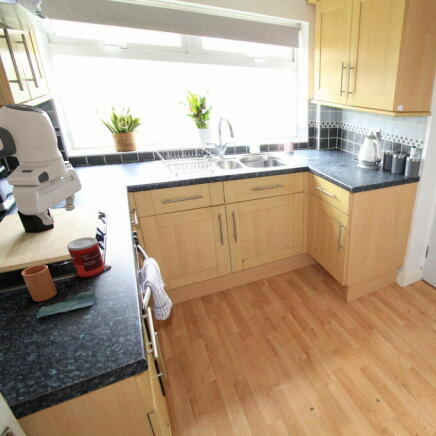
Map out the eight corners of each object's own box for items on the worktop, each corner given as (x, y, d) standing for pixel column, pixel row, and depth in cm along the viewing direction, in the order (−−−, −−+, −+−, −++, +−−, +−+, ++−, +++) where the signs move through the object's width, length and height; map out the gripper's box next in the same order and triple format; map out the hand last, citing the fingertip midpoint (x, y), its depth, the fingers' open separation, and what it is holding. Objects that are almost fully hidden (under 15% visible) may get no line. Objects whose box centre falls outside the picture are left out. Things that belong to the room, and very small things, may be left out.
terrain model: (36, 324, 84) (34, 318, 83) (42, 308, 90) (40, 302, 89) (95, 308, 90) (93, 302, 89) (96, 294, 96) (95, 289, 95)
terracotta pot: (27, 302, 92) (16, 276, 88) (40, 290, 97) (30, 265, 93) (49, 300, 92) (39, 274, 89) (61, 289, 98) (51, 264, 94)
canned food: (85, 265, 110) (76, 237, 105) (110, 264, 110) (101, 236, 106) (71, 278, 103) (60, 248, 98) (97, 277, 103) (88, 248, 99)
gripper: (57, 159, 93) (70, 202, 99) (0, 180, 75) (21, 233, 81) (80, 159, 94) (92, 202, 100) (30, 181, 76) (48, 232, 81)
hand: (60, 216), depth 90 cm, fingers open, 8 cm apart
